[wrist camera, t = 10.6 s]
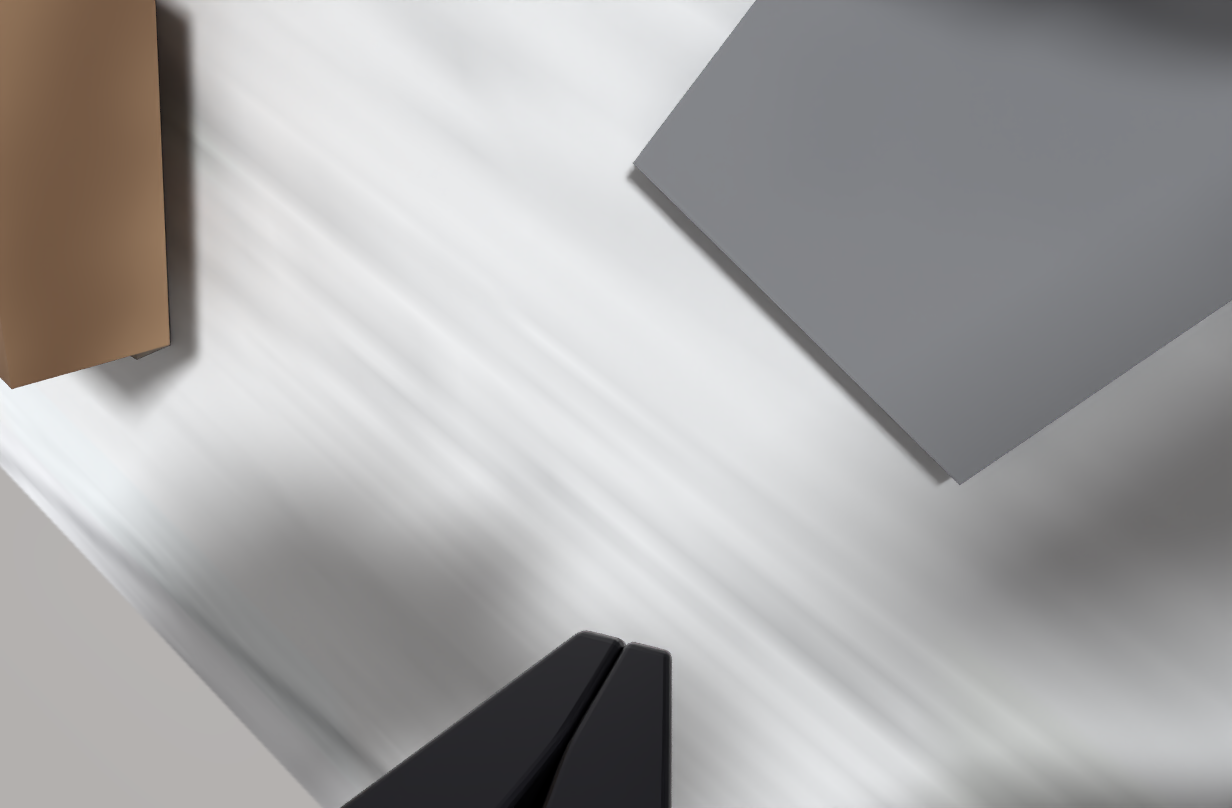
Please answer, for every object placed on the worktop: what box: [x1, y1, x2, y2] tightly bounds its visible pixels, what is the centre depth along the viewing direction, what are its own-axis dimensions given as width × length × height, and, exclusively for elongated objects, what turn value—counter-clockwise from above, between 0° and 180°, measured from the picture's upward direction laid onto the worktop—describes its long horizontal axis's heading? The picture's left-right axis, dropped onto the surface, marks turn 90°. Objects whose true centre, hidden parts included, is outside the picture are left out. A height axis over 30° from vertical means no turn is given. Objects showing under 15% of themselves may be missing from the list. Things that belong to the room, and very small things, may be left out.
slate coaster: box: [633, 0, 1232, 485], centre depth 16 cm, size 9×9×1 cm
